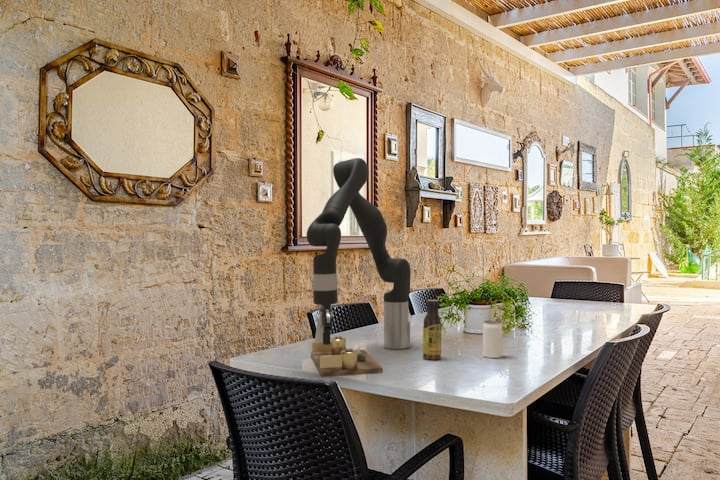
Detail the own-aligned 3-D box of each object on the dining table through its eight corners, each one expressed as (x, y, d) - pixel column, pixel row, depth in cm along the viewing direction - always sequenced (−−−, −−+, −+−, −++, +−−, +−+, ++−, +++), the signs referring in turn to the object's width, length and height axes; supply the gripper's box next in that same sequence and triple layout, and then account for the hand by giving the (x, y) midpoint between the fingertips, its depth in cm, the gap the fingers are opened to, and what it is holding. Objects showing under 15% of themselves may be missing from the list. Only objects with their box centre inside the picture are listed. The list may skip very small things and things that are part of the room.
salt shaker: (327, 352, 212) (327, 316, 212) (312, 352, 213) (312, 316, 213) (331, 349, 218) (331, 314, 218) (316, 349, 219) (316, 314, 219)
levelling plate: (364, 353, 209) (364, 340, 209) (382, 372, 181) (382, 357, 181) (311, 356, 206) (310, 343, 206) (320, 376, 177) (320, 360, 177)
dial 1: (345, 351, 205) (345, 335, 205) (346, 354, 200) (346, 338, 200) (312, 352, 204) (312, 336, 204) (312, 355, 199) (312, 339, 199)
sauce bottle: (429, 361, 196) (428, 301, 196) (419, 357, 202) (418, 299, 201) (445, 359, 199) (445, 300, 199) (435, 355, 205) (434, 298, 204)
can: (503, 355, 204) (503, 320, 204) (501, 359, 198) (501, 323, 198) (484, 354, 206) (484, 320, 206) (482, 357, 200) (481, 322, 200)
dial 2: (355, 365, 184) (354, 347, 184) (359, 368, 179) (359, 350, 179) (318, 367, 181) (318, 349, 181) (322, 371, 176) (321, 352, 176)
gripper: (340, 289, 176) (342, 347, 176) (334, 285, 189) (335, 339, 189) (315, 291, 175) (317, 349, 175) (310, 286, 188) (312, 340, 188)
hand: (326, 344), depth 182 cm, fingers closed
